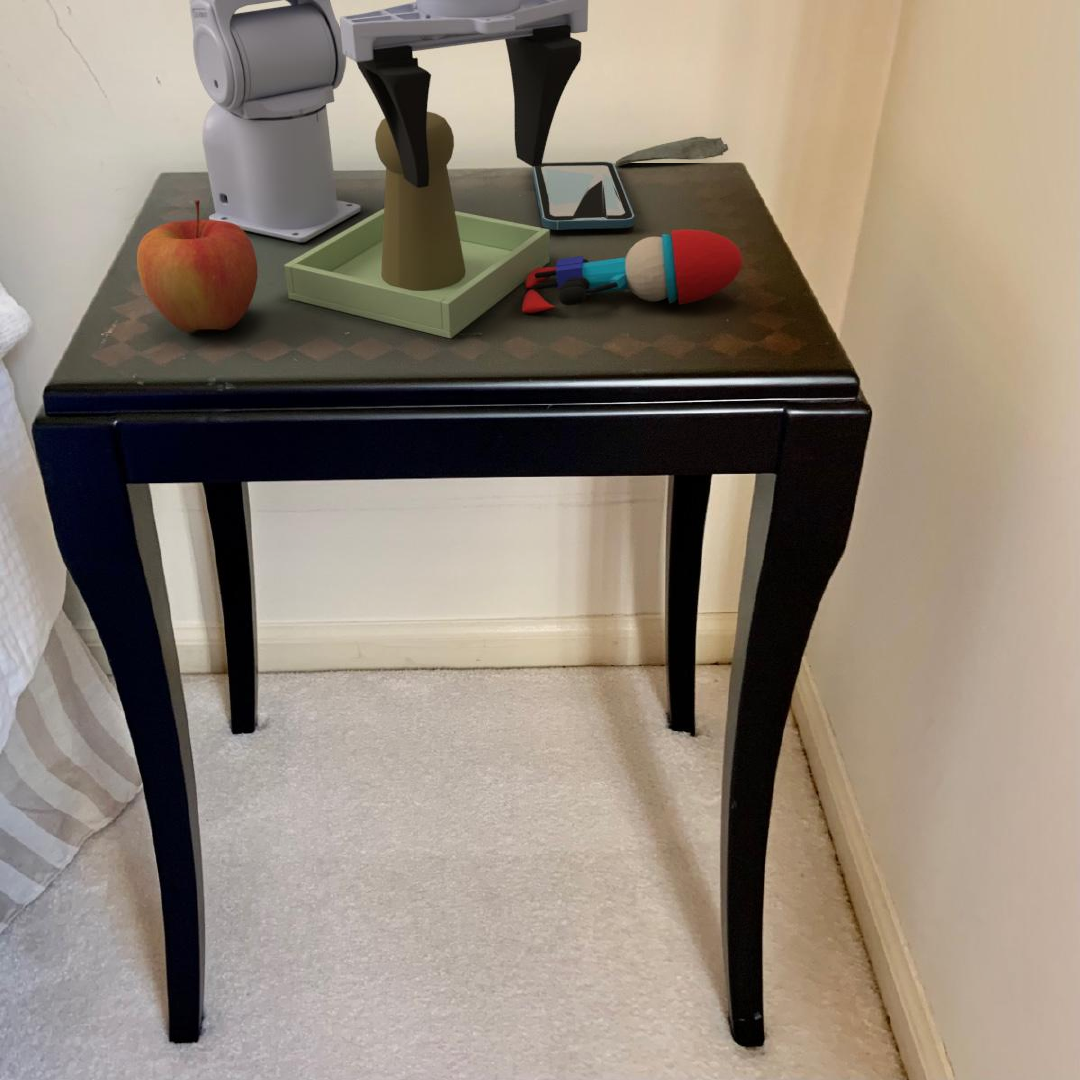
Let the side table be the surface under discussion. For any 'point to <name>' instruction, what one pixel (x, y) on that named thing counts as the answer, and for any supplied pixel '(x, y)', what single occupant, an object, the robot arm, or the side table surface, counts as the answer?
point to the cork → (420, 216)
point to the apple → (198, 272)
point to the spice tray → (358, 288)
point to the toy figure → (645, 271)
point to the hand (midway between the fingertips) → (474, 171)
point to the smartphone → (581, 196)
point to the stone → (679, 150)
